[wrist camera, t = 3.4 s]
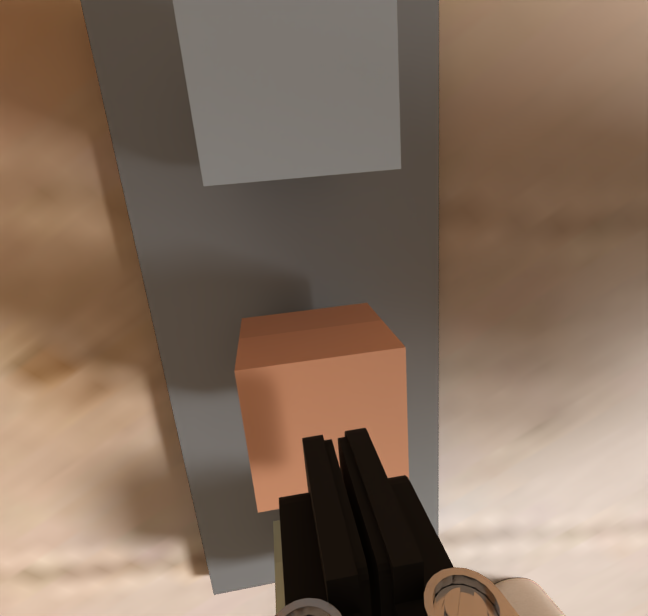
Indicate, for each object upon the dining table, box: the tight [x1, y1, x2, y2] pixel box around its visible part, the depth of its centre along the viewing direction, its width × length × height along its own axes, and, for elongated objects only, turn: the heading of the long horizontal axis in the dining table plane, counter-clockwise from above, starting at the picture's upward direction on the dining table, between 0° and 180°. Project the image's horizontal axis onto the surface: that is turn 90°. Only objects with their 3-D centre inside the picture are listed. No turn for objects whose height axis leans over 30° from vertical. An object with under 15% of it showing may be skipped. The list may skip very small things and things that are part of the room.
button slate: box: [173, 0, 401, 186], centre depth 12 cm, size 5×5×5 cm
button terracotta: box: [234, 303, 409, 513], centre depth 15 cm, size 5×5×5 cm
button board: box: [80, 0, 439, 595], centre depth 19 cm, size 13×28×3 cm, turn 5°
